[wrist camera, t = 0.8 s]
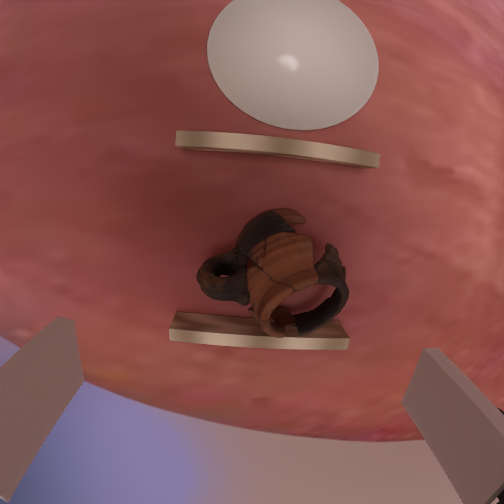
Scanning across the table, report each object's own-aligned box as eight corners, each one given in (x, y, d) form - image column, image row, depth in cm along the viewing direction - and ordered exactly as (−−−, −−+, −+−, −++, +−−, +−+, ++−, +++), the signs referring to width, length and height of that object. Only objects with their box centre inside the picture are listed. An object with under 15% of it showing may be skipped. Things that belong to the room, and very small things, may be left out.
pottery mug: (326, 197, 27) (374, 257, 21) (308, 273, 33) (340, 334, 27) (188, 209, 24) (201, 284, 18) (195, 290, 30) (209, 362, 24)
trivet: (218, -20, 21) (218, -21, 20) (375, 5, 22) (376, 4, 21) (197, 122, 25) (197, 121, 24) (374, 143, 25) (376, 143, 25)
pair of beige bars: (176, 322, 29) (169, 340, 26) (184, 136, 25) (176, 130, 21) (336, 331, 30) (347, 349, 26) (364, 155, 26) (380, 153, 22)
